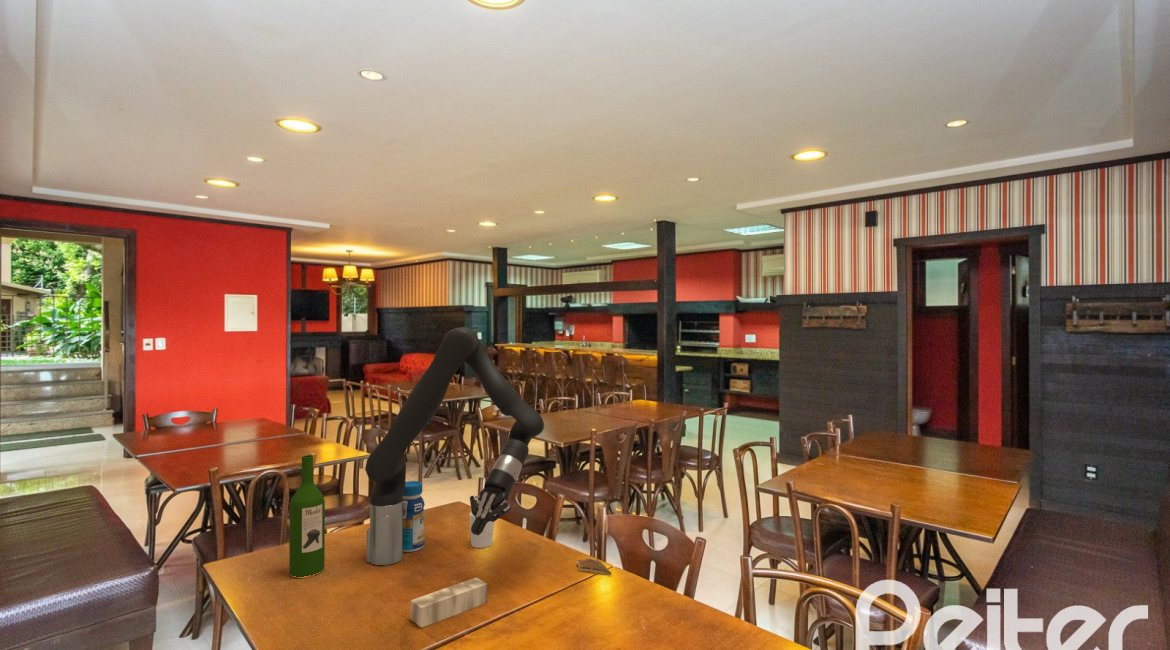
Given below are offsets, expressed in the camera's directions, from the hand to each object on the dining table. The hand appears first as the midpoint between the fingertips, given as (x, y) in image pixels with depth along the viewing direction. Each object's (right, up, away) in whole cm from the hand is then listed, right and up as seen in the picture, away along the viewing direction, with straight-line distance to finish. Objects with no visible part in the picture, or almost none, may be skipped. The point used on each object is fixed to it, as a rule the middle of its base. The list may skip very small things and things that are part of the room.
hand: (474, 533), depth 148 cm
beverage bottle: (-26, -16, +31) cm, 44 cm away
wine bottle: (-50, -16, +14) cm, 54 cm away
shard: (+32, -17, +17) cm, 40 cm away
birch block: (+2, -14, -2) cm, 14 cm away
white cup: (-4, -16, +34) cm, 38 cm away
